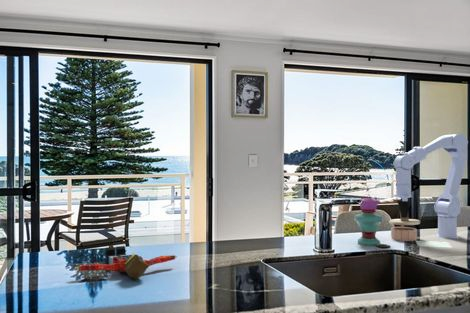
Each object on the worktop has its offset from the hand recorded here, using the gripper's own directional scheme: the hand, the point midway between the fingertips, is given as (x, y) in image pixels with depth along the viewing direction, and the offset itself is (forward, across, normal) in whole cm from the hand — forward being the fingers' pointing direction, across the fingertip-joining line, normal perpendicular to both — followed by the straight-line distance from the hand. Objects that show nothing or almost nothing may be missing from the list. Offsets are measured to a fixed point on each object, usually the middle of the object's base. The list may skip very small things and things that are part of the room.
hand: (403, 217), depth 188 cm
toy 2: (+10, +13, -14) cm, 21 cm away
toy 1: (+10, +77, -85) cm, 115 cm away
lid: (+2, 0, 0) cm, 3 cm away
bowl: (+9, 0, 0) cm, 9 cm away
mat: (+9, +10, +10) cm, 17 cm away
